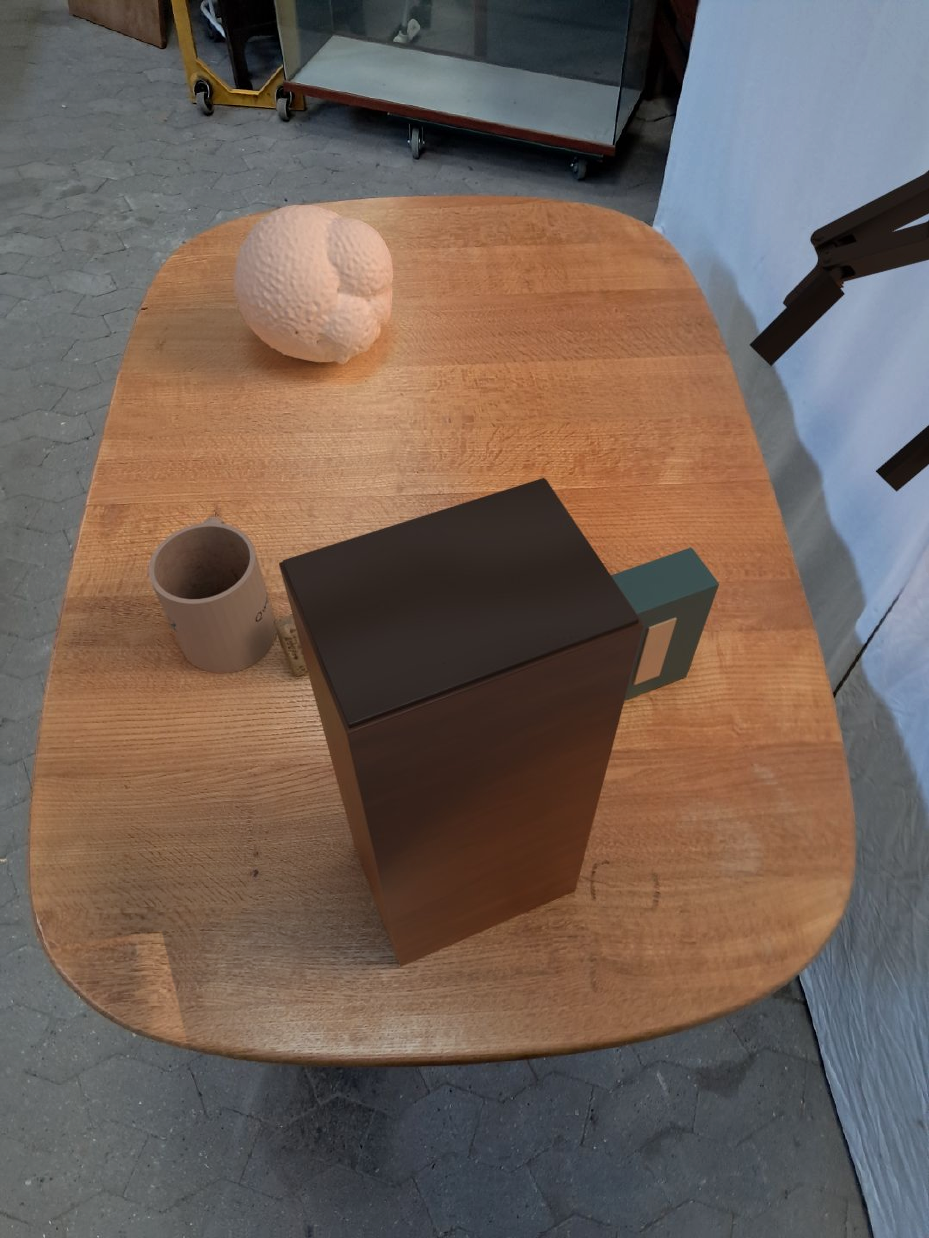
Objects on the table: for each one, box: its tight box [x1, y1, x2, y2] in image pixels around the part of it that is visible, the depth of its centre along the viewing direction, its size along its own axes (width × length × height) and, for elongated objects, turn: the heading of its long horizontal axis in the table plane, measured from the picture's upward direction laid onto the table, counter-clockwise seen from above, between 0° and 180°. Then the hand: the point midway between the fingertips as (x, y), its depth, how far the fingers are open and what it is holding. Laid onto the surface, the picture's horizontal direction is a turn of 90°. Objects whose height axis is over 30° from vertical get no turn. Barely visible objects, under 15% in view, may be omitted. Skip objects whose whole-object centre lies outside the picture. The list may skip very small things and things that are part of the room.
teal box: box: [610, 547, 720, 702], centre depth 73 cm, size 4×9×13 cm, turn 113°
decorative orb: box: [232, 204, 394, 365], centre depth 100 cm, size 20×18×16 cm
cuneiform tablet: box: [274, 613, 308, 677], centre depth 78 cm, size 7×4×12 cm
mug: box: [148, 515, 277, 674], centre depth 79 cm, size 12×9×10 cm
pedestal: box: [278, 477, 644, 967], centre depth 55 cm, size 10×14×34 cm
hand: (818, 415), depth 60 cm, fingers open, 13 cm apart
